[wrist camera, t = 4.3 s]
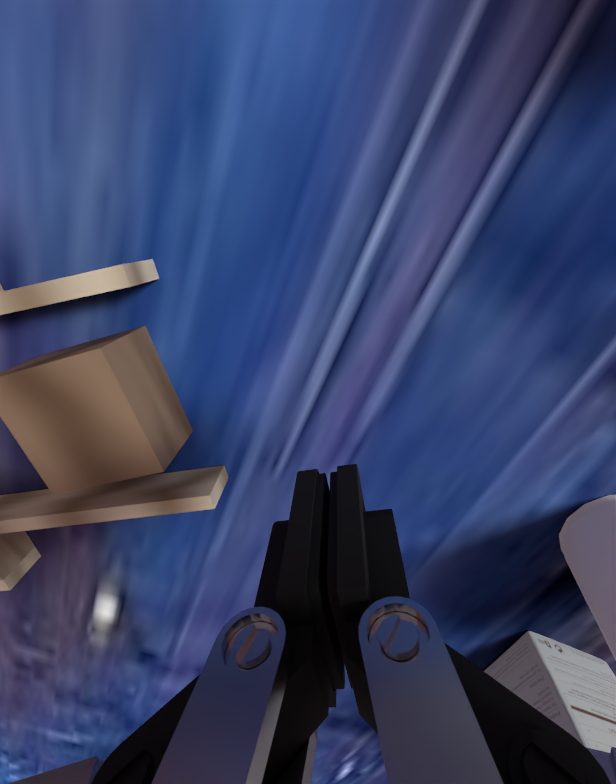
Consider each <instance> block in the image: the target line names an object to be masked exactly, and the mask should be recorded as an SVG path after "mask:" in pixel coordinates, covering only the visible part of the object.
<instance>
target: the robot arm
mask: <svg viewBox="0 0 616 784" xmlns="http://www.w3.org/2000/svg"><path fill="white" fill-rule="evenodd" d="M344 662H345V666H346V670H347V674H348V678H349V682H350V686H351V688H353V690H354V694H355V698H356V702H357V706H358V710H359V714H360V715H361V716H362V717H363V718H364V719H365V721H366V722H367V723H368V724H369V725H370V726H371V727H372V728H373V729H374V730H375V731H376V733H377V734H378V735H379V740H380V744H381V749H382V754H383V759H384V764H385V769H386V774H387V779H388V784H616V748H615V747H611V752H610V753H608V752H604V751H599V750H595V749H591V748H587V747H585V746H583V745H582V744H581V743H580V742H579V741H578V740H577V739H576V738H574V737H573V736H572V735H571V734H569V733H568V732H567V731H565V730H564V729H563V728H561V727H560V726H558V725H557V724H556V723H554V722H553V721H552V720H550V719H549V718H547V717H546V716H545V715H543V714H542V713H541V712H539V711H538V710H536V709H535V708H534V707H532V706H531V705H530V704H528V703H527V702H525V701H524V700H523V699H521V698H520V697H519V696H517V695H516V694H514V693H513V692H512V691H510V690H509V689H508V688H506V687H505V686H503V685H502V684H501V683H499V682H498V681H496V680H495V679H494V678H492V677H491V676H490V675H488V674H487V673H485V672H484V671H483V670H481V669H480V668H479V667H477V666H476V665H474V664H473V663H472V662H470V661H469V660H468V659H466V658H465V657H463V656H462V655H461V654H459V653H458V652H457V651H455V650H454V649H452V648H451V647H450V646H448V645H447V644H446V643H444V641H443V639H442V636H441V634H440V632H439V629H438V627H437V624H436V622H435V621H434V619H433V617H432V616H431V614H430V612H429V611H427V610H426V609H425V608H424V607H423V606H422V605H421V604H419V603H417V602H415V601H413V600H411V599H410V598H409V593H408V588H407V582H406V577H405V572H404V567H403V562H402V557H401V552H400V547H399V542H398V537H397V532H396V527H395V522H394V517H393V512H392V509H386V510H377V511H368V512H366V511H365V506H364V500H363V495H362V489H361V484H360V478H359V473H358V467H357V464H352V465H344V466H338V467H337V472H331V474H330V491H329V486H328V482H327V477H326V474H325V473H323V474H319V472H318V470H317V469H313V470H305V471H298V473H297V478H296V483H295V489H294V495H293V500H292V506H291V512H290V517H289V520H286V521H277V522H275V523H274V524H273V527H272V531H271V536H270V540H269V544H268V549H267V553H266V557H265V562H264V566H263V570H262V575H261V579H260V583H259V588H258V592H257V596H256V601H255V605H254V607H252V608H249V609H246V610H243V611H241V612H240V613H238V614H236V615H235V616H233V617H232V618H231V619H230V620H229V621H228V622H227V623H226V624H225V625H224V626H223V628H222V629H221V631H220V633H219V634H218V636H217V638H216V640H215V642H214V645H213V647H212V649H211V651H210V654H209V656H208V658H207V660H206V663H205V665H204V667H203V669H202V672H201V674H200V675H199V676H197V677H196V678H195V679H194V680H193V681H192V682H191V683H189V684H188V685H187V686H186V687H185V688H184V689H183V690H181V691H180V692H179V693H178V694H177V695H176V696H175V697H173V698H172V699H171V700H170V701H169V702H168V703H167V704H166V705H164V706H163V707H162V708H161V709H160V710H159V711H158V712H156V713H155V714H154V715H153V716H152V717H151V718H150V719H148V720H147V721H146V722H145V723H144V724H143V725H142V726H140V727H139V728H138V729H137V730H136V731H135V732H134V733H132V734H131V735H130V736H129V737H128V738H127V739H126V740H125V741H123V742H122V743H121V744H120V745H119V746H118V747H117V748H116V749H115V750H114V751H113V752H112V753H111V754H110V755H109V756H108V757H107V759H105V760H102V761H100V760H99V758H98V757H97V756H94V757H91V758H88V759H85V760H82V761H79V762H76V763H73V764H69V765H66V766H63V767H60V768H57V769H54V770H51V771H47V772H44V773H41V774H38V775H35V776H32V777H29V778H26V779H22V780H19V781H16V782H13V783H10V784H310V783H311V777H312V771H313V765H314V758H315V752H316V746H317V728H318V727H319V726H320V724H321V723H322V722H323V721H324V720H325V718H326V717H327V716H328V707H336V689H344V685H345V670H344Z"/></svg>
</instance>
